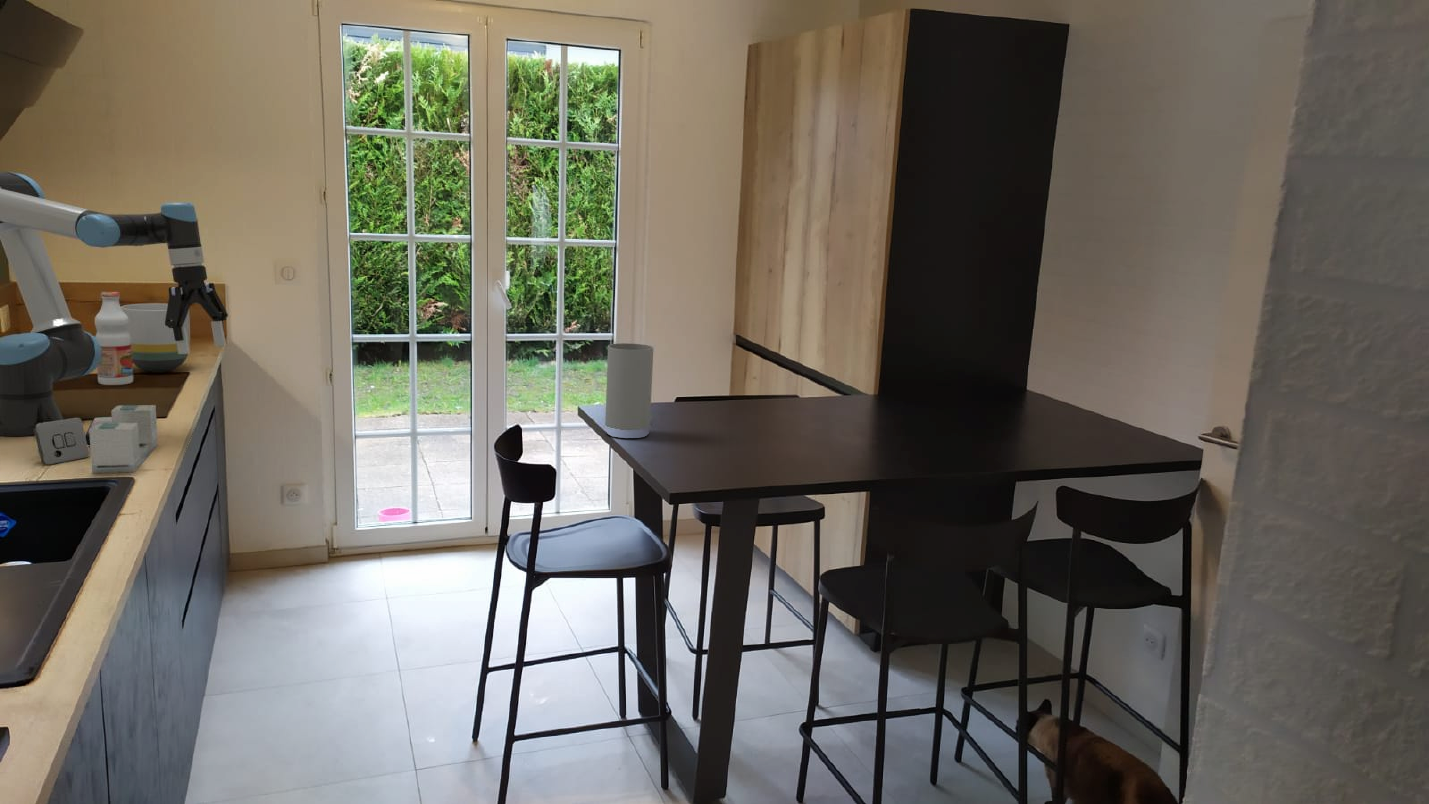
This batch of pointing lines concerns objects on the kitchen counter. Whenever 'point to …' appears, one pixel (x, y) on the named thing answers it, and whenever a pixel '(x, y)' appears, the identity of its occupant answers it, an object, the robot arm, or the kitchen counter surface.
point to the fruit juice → (113, 342)
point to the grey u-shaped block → (123, 439)
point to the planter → (153, 337)
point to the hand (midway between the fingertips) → (202, 350)
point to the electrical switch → (61, 441)
